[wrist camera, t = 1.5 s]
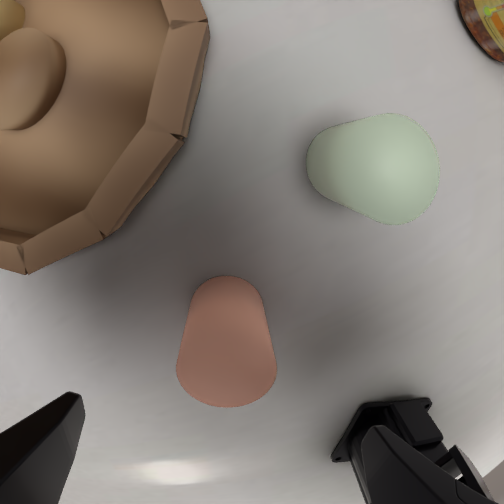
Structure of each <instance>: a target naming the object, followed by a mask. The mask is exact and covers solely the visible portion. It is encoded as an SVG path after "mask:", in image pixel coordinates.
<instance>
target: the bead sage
mask: <svg viewBox="0 0 504 504" xmlns="http://www.w3.org/2000/svg"><path fill="white" fill-rule="evenodd" d="M306 169H307V173H308V177H309V179H310V181H311V183H312V185H313V186H314V188H315V189H316V190H317V191H318V192H319V193H320V194H321V195H323V196H324V197H326V198H328V199H330V200H332V201H334V202H336V203H339V204H341V205H343V206H345V207H347V208H350V209H352V210H354V211H356V212H358V213H360V214H363V215H365V216H367V217H369V218H371V219H373V220H375V221H377V222H380V223H383V224H387V225H401V224H405V223H408V222H411V221H413V220H414V219H416V218H418V217H419V216H420V215H421V214H422V213H424V211H425V210H426V209H427V208H428V207H429V205H430V204H431V202H432V200H433V198H434V196H435V194H436V191H437V188H438V184H439V176H440V167H439V159H438V155H437V151H436V148H435V146H434V143H433V142H432V140H431V138H430V136H429V135H428V133H427V132H426V131H425V130H424V129H423V128H422V127H421V126H420V125H419V124H418V123H417V122H415V121H414V120H412V119H410V118H408V117H406V116H403V115H400V114H393V113H387V114H381V115H377V116H372V117H368V118H364V119H360V120H356V121H352V122H349V123H345V124H341V125H337V126H334V127H330V128H327V129H326V130H324V131H322V132H321V133H319V134H318V135H317V136H316V137H315V138H314V140H313V141H312V143H311V144H310V147H309V149H308V152H307V157H306Z"/></svg>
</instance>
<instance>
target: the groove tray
mask: <svg viewBox="0 0 504 504" xmlns="http://www.w3.org/2000/svg"><path fill="white" fill-rule="evenodd" d="M14 1H16V2H17V3H19V4H21V5H22V6H23V7H24V9H25V20H24V24H23V26H22V28H21V29H18V30H16V31H14V32H12V33H10V34H9V35H7V36H6V37H4V38H3V39H2V40H1V41H0V268H2V269H6V270H9V271H13V272H16V273H20V274H24V275H26V274H27V273H28V275H29V274H31V273H33V272H35V271H37V270H39V269H41V268H43V267H45V266H47V265H49V264H51V263H54V262H56V261H58V260H60V259H62V258H64V257H66V256H68V255H71V254H73V253H75V252H77V251H79V250H81V249H84V248H86V247H88V246H90V245H92V244H95V243H97V242H99V241H102V240H104V239H105V238H106V237H108V236H109V235H111V234H112V233H114V232H115V231H116V230H117V229H119V228H120V227H121V226H122V224H123V223H124V222H125V220H126V219H127V217H128V216H129V214H130V213H131V212H132V210H133V209H134V207H135V206H136V205H137V204H138V203H139V202H140V201H141V200H142V199H143V197H144V196H145V195H146V194H147V193H148V191H149V190H150V189H151V188H152V187H153V186H154V184H155V183H156V182H157V180H158V179H159V177H160V176H161V174H162V173H163V171H164V170H165V168H166V167H167V166H168V164H169V163H170V161H171V159H172V158H173V156H174V155H175V154H176V153H177V151H178V150H179V149H180V148H181V146H182V145H183V144H184V143H185V142H184V141H182V139H183V137H185V138H187V135H188V130H189V125H190V120H191V117H192V115H193V112H194V108H195V104H196V101H197V98H198V94H199V91H200V86H201V79H202V73H203V67H204V59H205V55H206V51H207V47H208V44H209V40H210V35H209V34H210V32H209V26H208V20H207V16H206V14H205V11H204V9H203V7H202V4H201V2H200V0H14Z"/></svg>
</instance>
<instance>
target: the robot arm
mask: <svg viewBox="0 0 504 504" xmlns="http://www.w3.org/2000/svg"><path fill="white" fill-rule="evenodd" d="M431 405H432V402H431V400H430V399H429V398H426V399H416V400H406V401H394V402H378V403H366V404H363V405H362V406H361V407H360V408H359V410H358V411H357V413H356V415H355V417H354V419H353V420H352V422H351V424H350V426H349V427H348V429H347V431H346V433H345V434H344V436H343V438H342V439H341V441H340V443H339V444H338V446H337V447H336V449H335V451H334V452H333V454H332V455H331V459H332V462H346V461H350V462H351V465H352V467H353V470H354V473H355V475H356V478H357V481H358V483H359V486H360V489H361V492H362V494H363V497H364V500H365V503H366V504H498V503H496V502H495V501H494V499H493V498H492V496H491V494H490V492H489V490H488V488H487V486H486V484H485V482H484V480H483V478H482V477H481V475H480V474H479V472H478V471H477V469H476V468H475V466H474V465H473V463H472V462H471V460H470V459H469V458H468V457H467V456H466V455H465V454H464V453H463V452H462V451H461V450H460V449H459V448H458V447H457V446H456V445H454V446H453V447H452V448H451V449H449V452H448V450H447V449H446V447H445V446H444V444H443V443H442V440H443V435H442V433H441V432H440V430H439V429H438V427H437V426H436V424H435V423H434V421H433V420H432V418H431V417H430V416H429V414H428V413H427V412H428V410H429V409H430V407H431ZM84 420H85V410H84V405H83V400H82V397H81V395H80V394H77V393H74V392H70V391H69V392H66V393H65V394H63V395H61V396H60V397H58V398H57V399H55V400H53V401H52V402H50V403H49V404H47V405H45V406H44V407H42V408H41V409H39V410H37V411H36V412H34V413H33V414H31V415H29V416H28V417H26V418H25V419H23V420H21V421H20V422H18V423H16V424H15V425H13V426H12V427H10V428H8V429H7V430H5V431H3V432H2V433H0V504H58V502H59V499H60V496H61V494H62V491H63V488H64V485H65V482H66V480H67V477H68V474H69V472H70V469H71V466H72V464H73V461H74V458H75V454H76V450H77V446H78V443H79V439H80V435H81V431H82V427H83V424H84ZM461 473H462V475H463V476H462V477H461V478H459V479H458V480H457V479H455V478H456V477H457V476H459V475H460V474H461Z"/></svg>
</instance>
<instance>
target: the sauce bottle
mask: <svg viewBox="0 0 504 504" xmlns="http://www.w3.org/2000/svg"><path fill="white" fill-rule="evenodd" d="M458 1H459V7H460V11H461V14H462V17H463V20H464V22H465V23H466V25H467V27H468V28H469V30H470V32H471V33H472V35H473V36H474V38H475V39H476V40H477V42H478V43H479V45H480V46H481V47H482V48H483V49H484V50H485V51H486V52H487V54H489V55H490V56H491V57H492V58H494V59H495V60H498V61H501V62H504V0H458Z"/></svg>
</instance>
